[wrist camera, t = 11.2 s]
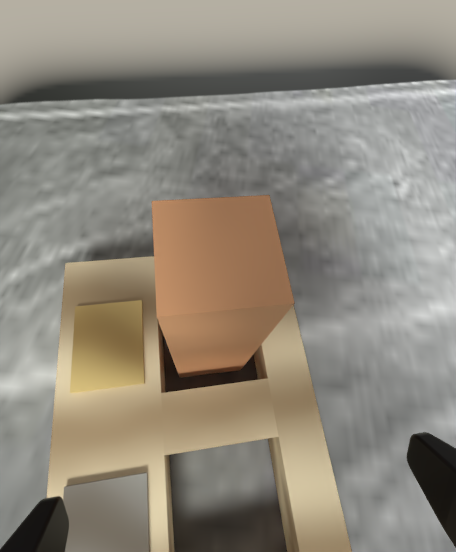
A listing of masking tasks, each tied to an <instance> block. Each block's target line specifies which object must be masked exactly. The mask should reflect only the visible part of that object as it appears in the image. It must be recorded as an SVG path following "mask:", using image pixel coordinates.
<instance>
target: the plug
mask: <svg viewBox="0 0 456 552" xmlns="http://www.w3.org/2000/svg"><path fill="white" fill-rule="evenodd" d="M152 218H153V242H154V265H155V288H156V312H157V319H158V322H159V324H160V327H161V330H162V332H163V335H164V338H165V340H166V343H167V345H168V348H169V351H170V353H171V356H172V359H173V361H174V364H175V366H176V369H177V372H178V374H179V377H180V378H183V377H190V376H198V375H206V374H214V373H222V372H230V371H238V370H241V369H242V368H243V366H244V365H245V364H246V363H247V361H248V360H249V359H250V358H251V356H252V355H253V354H254V353H255V352H256V350H257V349H258V348H259V347H260V345H261V344H262V343H263V342H264V340H265V339H266V338H267V337H268V336H269V334H270V333H271V332H272V331H273V329H274V328H275V327H276V326H277V324H278V323H279V322H280V321H281V320H282V318H283V317H284V316H285V315H286V313H287V312H288V311H289V310H290V308H291V307H292V306H293V305H294V299H293V294H292V290H291V286H290V281H289V277H288V273H287V268H286V264H285V260H284V256H283V251H282V247H281V243H280V238H279V234H278V230H277V225H276V221H275V217H274V213H273V208H272V204H271V200H270V195H260V196H240V197H221V198H201V199H182V200H162V201H152Z"/></svg>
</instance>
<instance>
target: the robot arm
mask: <svg viewBox="0 0 456 552" xmlns="http://www.w3.org/2000/svg"><path fill="white" fill-rule="evenodd" d="M407 461H408V464H409V467H410V469H411V470H412V472H413V474H414V476H415V478H416V480H417V481H418V483H419V485H420V487H421V489H422V491H423V492H424V494H425V496H426V498H427V500H428V501H429V503H430V505H431V507H432V509H433V511H434V512H435V514H436V516H437V518H438V520H439V521H440V523H441V525H442V527H443V528H444V530H445V532H446V533H447V535H448V536H449V538H450V539H451V541H452V543H453V544H454V546H455V547H456V448H454V447H452V446H451V445H449V444H447V443H445V442H444V441H442V440H440V439H438V438H437V437H435V436H433V435H431V434H429V433H426V432H423V433H417V434H413V435H412V436H411V438H410V443H409V447H408V452H407ZM68 531H69V518H68V515H67V511H66V508H65V505H64V502H63V499H62V498H61V497H60V496H56V497H50V498H45V499H43V500H41V501H40V502H39V503H38V504H37V505H36V506H35V508H34V509H33V510H32V511H31V512H30V514H29V515H28V516H27V517H26V519H25V520H24V521H23V522H22V523H21V525H20V526H19V527H18V528H17V530H16V531H15V532H14V533H13V534H12V536H11V537H10V538H9V539H8V541H7V542H6V543H5V544H4V545H3V547H2V548H1V549H0V552H65V548H66V543H67V537H68Z"/></svg>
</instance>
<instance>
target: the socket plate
mask: <svg viewBox="0 0 456 552" xmlns="http://www.w3.org/2000/svg"><path fill="white" fill-rule="evenodd" d="M254 360H255V365H256V371H257V377H258V380H252V381H245V382H238V383H230V384H223V385H216V386H209V387H201V388H194V389H187V390H180V391H172V392H166V387H165V369H164V351H163V333H162V330H161V327H160V324H159V322H158V319H157V312H156V288H155V265H154V256H150V257H137V258H125V259H112V260H99V261H87V262H74V263H65V276H64V288H63V301H62V313H61V326H60V338H59V351H58V363H57V376H56V388H55V401H54V413H53V426H52V438H51V451H50V463H49V476H48V488H47V498H50V497H56V496H60V497H61V498H62V499H63V502H64V505H65V508H66V511H67V515H68V518H69V531H68V537H67V543H66V548H65V552H175V550H174V532H173V514H172V496H171V478H170V460H169V455H170V454H176V453H182V452H188V451H194V450H200V449H207V448H213V447H219V446H225V445H231V444H237V443H243V442H249V441H255V440H261V439H267V438H268V442H269V448H270V453H271V459H272V465H273V471H274V477H275V483H276V489H277V495H278V500H279V506H280V512H281V518H282V524H283V530H284V536H285V542H286V547H287V552H352V550H351V546H350V541H349V537H348V533H347V529H346V524H345V520H344V516H343V512H342V508H341V503H340V499H339V495H338V491H337V486H336V482H335V478H334V474H333V470H332V465H331V461H330V457H329V453H328V448H327V444H326V440H325V436H324V432H323V427H322V423H321V419H320V415H319V410H318V406H317V402H316V398H315V393H314V389H313V385H312V381H311V377H310V372H309V368H308V364H307V360H306V355H305V351H304V347H303V343H302V339H301V334H300V330H299V326H298V322H297V317H296V313H295V309H294V305H293V306H292V307H291V308H290V310H289V311H288V312H287V313H286V315H285V316H284V317H283V318H282V320H281V321H280V322H279V323H278V324H277V326H276V327H275V328H274V329H273V331H272V332H271V333H270V334H269V336H268V337H267V338H266V339H265V340H264V342H263V343H262V344H261V345H260V347H259V348H258V349H257V350H256V352H255V353H254Z"/></svg>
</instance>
